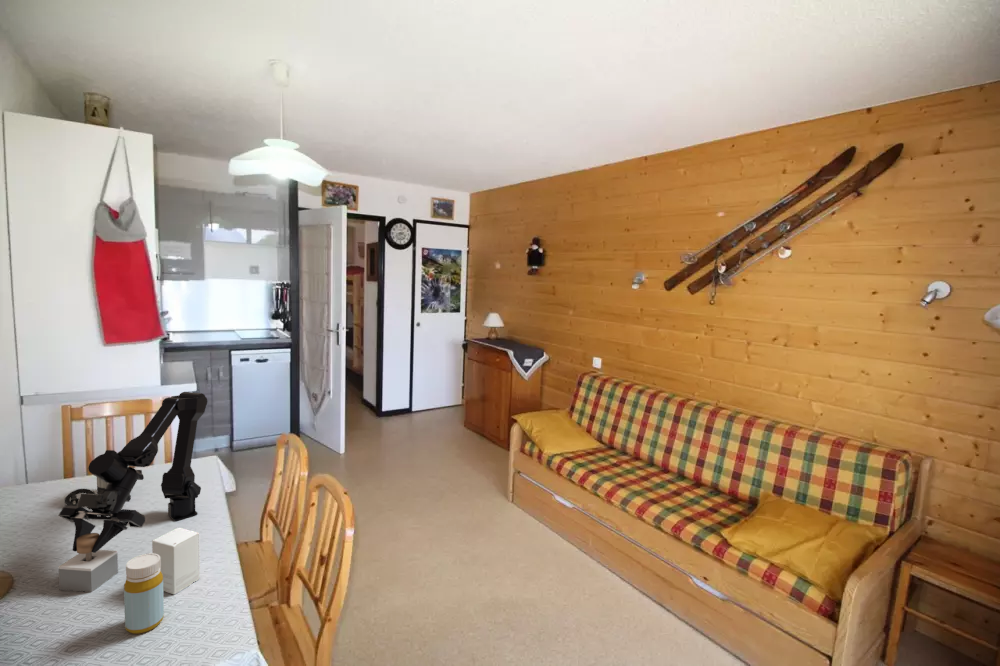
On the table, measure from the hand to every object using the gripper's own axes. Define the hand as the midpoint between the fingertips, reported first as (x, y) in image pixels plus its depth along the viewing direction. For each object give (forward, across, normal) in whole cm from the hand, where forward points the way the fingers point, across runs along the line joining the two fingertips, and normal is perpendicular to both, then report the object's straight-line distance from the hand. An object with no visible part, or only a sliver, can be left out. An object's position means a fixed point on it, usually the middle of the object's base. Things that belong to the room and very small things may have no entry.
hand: (83, 551), depth 122 cm
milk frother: (-23, -31, +35) cm, 52 cm away
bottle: (+14, +24, -2) cm, 28 cm away
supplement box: (+4, +21, +8) cm, 23 cm away
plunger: (+3, 0, +5) cm, 6 cm away
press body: (+5, 0, +7) cm, 9 cm away
